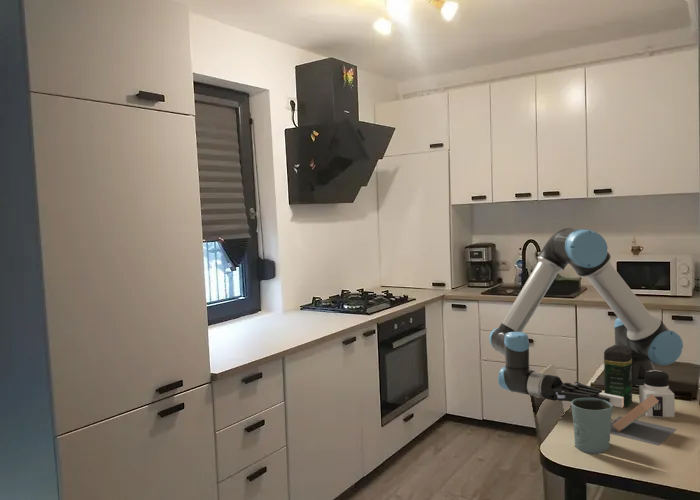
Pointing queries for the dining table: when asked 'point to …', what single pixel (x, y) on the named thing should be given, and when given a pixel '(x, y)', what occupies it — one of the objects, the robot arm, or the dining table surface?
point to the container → (658, 394)
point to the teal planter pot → (591, 424)
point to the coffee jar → (618, 372)
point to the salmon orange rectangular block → (635, 413)
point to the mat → (643, 432)
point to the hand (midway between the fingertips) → (622, 402)
